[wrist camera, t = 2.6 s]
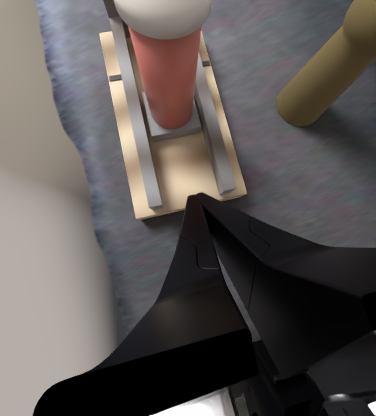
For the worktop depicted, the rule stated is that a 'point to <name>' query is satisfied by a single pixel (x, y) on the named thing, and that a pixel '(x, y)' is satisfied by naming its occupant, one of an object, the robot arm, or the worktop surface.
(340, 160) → the worktop surface
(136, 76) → the plug rig
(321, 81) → the cork
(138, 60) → the red plug
